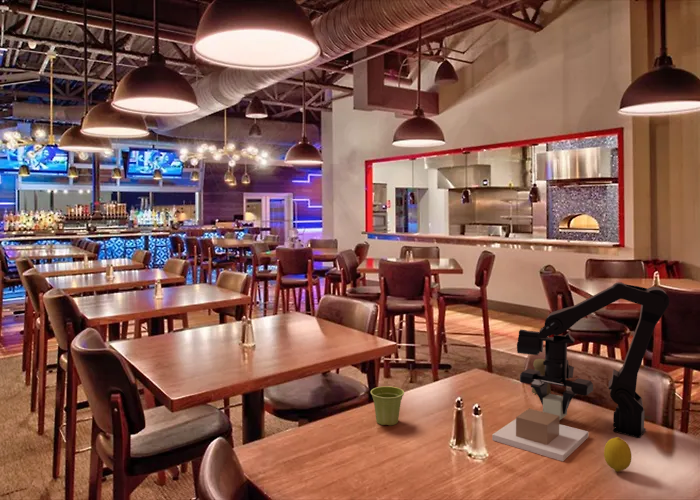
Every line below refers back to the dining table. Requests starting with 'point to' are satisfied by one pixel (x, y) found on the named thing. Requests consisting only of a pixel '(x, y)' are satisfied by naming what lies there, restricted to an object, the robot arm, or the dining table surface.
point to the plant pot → (387, 404)
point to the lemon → (617, 454)
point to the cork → (540, 367)
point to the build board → (545, 450)
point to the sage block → (554, 405)
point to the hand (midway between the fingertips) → (554, 411)
